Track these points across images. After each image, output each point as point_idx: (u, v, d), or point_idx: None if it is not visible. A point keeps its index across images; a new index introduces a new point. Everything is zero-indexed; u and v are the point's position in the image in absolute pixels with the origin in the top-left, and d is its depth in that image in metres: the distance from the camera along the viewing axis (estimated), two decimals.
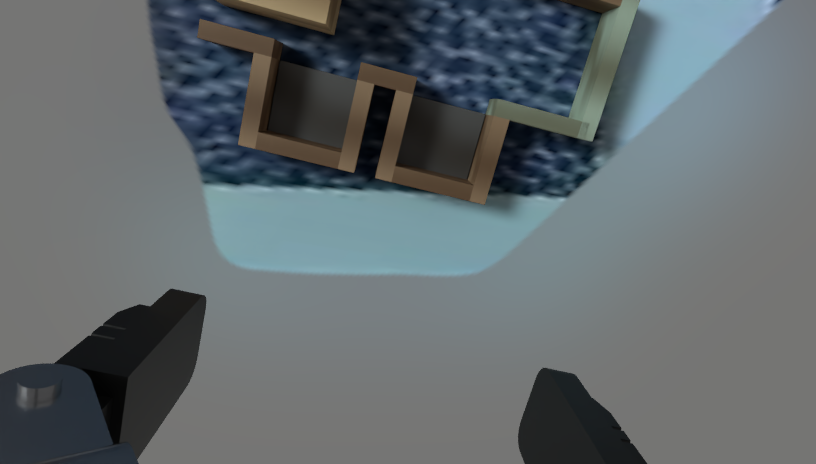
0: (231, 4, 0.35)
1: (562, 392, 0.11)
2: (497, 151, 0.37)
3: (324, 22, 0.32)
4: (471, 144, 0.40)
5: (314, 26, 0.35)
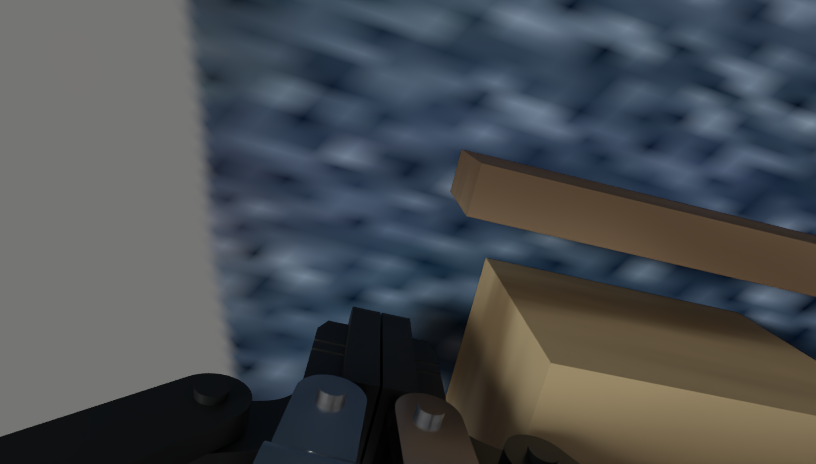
0: None
1: (383, 330, 0.11)
2: None
3: None
4: None
5: None
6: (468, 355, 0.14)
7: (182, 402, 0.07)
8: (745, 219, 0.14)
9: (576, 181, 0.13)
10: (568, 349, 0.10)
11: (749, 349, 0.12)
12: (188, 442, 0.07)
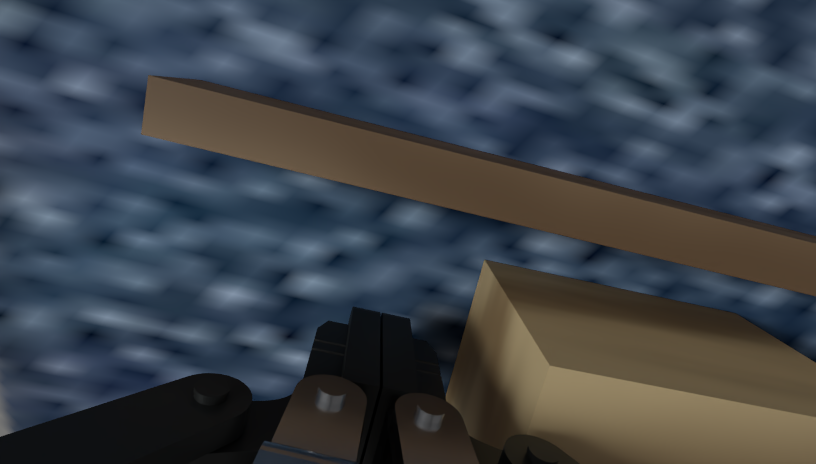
0: None
1: (383, 330, 0.11)
2: None
3: None
4: None
5: None
6: (467, 357, 0.14)
7: (182, 402, 0.07)
8: (508, 158, 0.14)
9: (295, 108, 0.12)
10: (566, 352, 0.10)
11: (747, 350, 0.12)
12: (188, 442, 0.07)
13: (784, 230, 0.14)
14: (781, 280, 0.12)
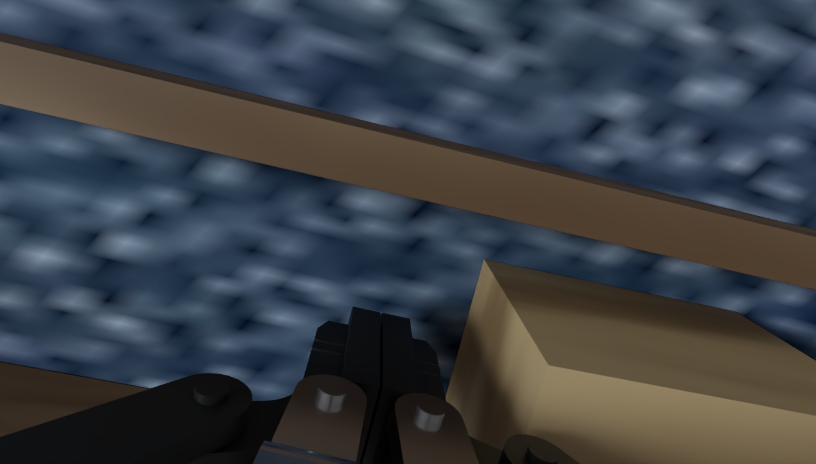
0: None
1: (383, 330, 0.11)
2: None
3: None
4: None
5: None
6: (467, 357, 0.14)
7: (182, 402, 0.07)
8: (311, 108, 0.13)
9: (58, 51, 0.11)
10: (565, 351, 0.10)
11: (747, 348, 0.12)
12: (188, 443, 0.07)
13: (603, 180, 0.13)
14: (570, 226, 0.11)
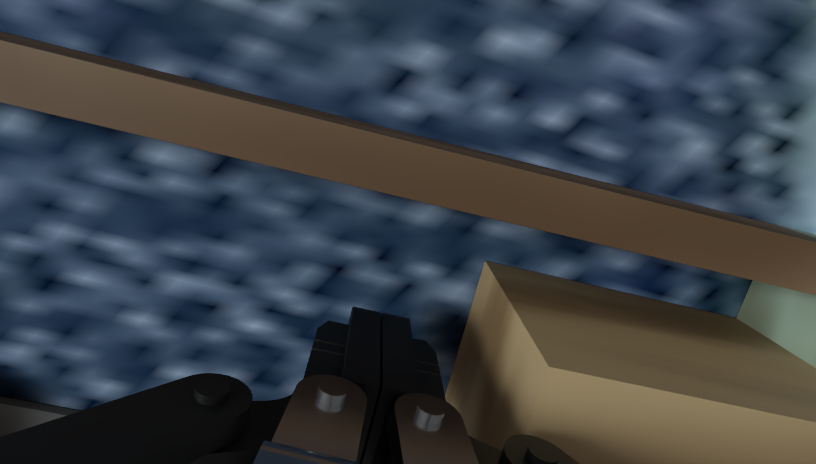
0: None
1: (383, 330, 0.11)
2: None
3: None
4: None
5: None
6: (466, 358, 0.14)
7: (182, 402, 0.07)
8: (89, 54, 0.13)
9: None
10: (566, 353, 0.10)
11: (747, 354, 0.12)
12: (189, 442, 0.07)
13: (395, 132, 0.13)
14: (326, 171, 0.11)
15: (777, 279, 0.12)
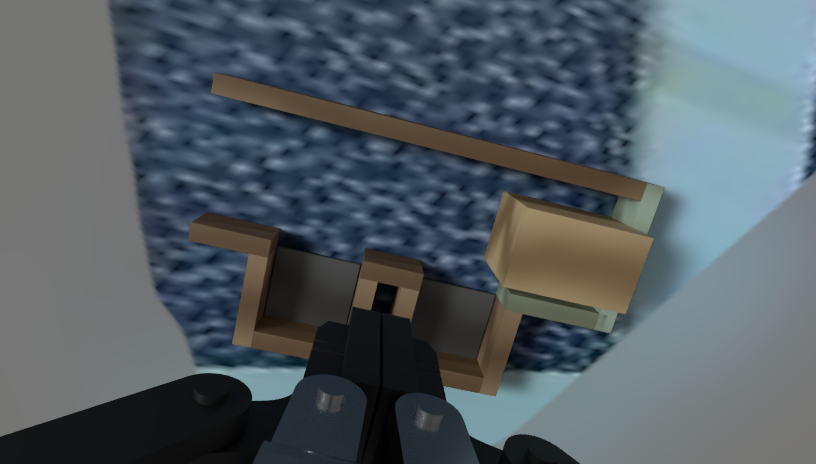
0: None
1: (383, 330, 0.11)
2: (509, 344, 0.35)
3: (624, 312, 0.31)
4: (481, 325, 0.37)
5: None
6: (496, 229, 0.35)
7: (182, 402, 0.07)
8: (355, 107, 0.33)
9: (266, 85, 0.31)
10: (533, 207, 0.30)
11: (602, 220, 0.33)
12: (188, 442, 0.07)
13: (471, 137, 0.33)
14: (452, 151, 0.31)
15: (613, 191, 0.33)
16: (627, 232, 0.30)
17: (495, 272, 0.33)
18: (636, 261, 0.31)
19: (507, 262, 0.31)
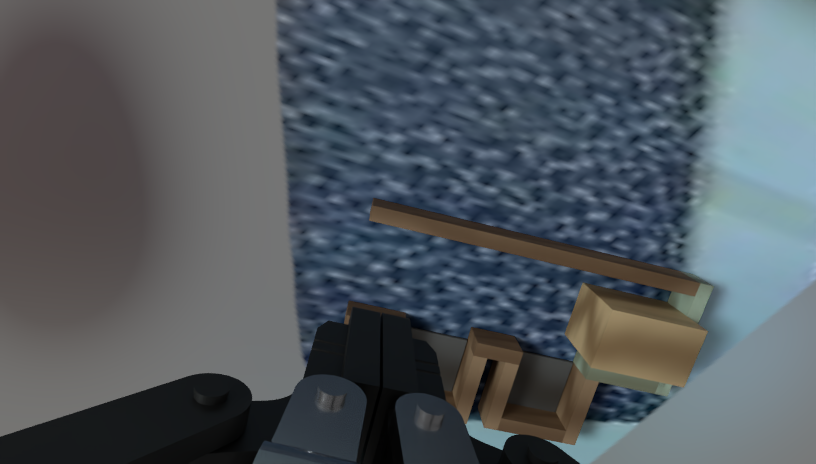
0: None
1: (383, 331, 0.11)
2: (587, 405, 0.44)
3: (683, 386, 0.41)
4: (560, 386, 0.46)
5: None
6: (577, 313, 0.44)
7: (182, 402, 0.07)
8: (471, 222, 0.42)
9: (406, 209, 0.40)
10: (615, 307, 0.39)
11: (664, 311, 0.42)
12: (188, 442, 0.07)
13: (561, 245, 0.42)
14: (550, 260, 0.40)
15: (673, 289, 0.42)
16: (687, 327, 0.39)
17: (580, 352, 0.42)
18: (693, 348, 0.40)
19: (593, 348, 0.40)
